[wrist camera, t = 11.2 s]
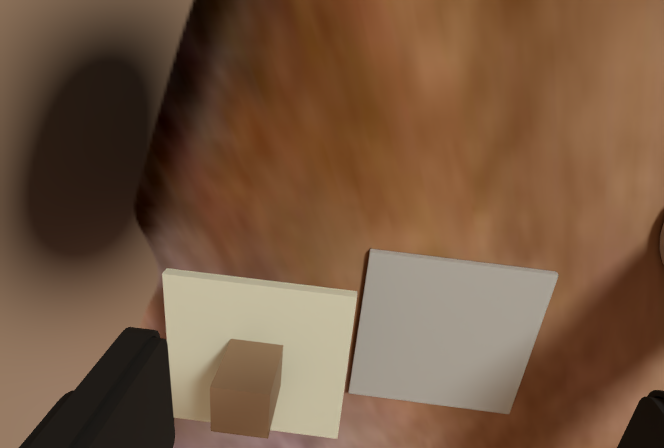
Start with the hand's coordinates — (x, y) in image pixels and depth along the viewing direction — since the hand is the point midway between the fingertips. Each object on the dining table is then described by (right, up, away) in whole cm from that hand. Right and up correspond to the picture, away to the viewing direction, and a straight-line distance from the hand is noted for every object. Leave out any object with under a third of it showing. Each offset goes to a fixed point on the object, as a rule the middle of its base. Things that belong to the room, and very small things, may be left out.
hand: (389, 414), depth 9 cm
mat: (+9, -7, +33) cm, 35 cm away
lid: (-7, -7, +26) cm, 28 cm away
